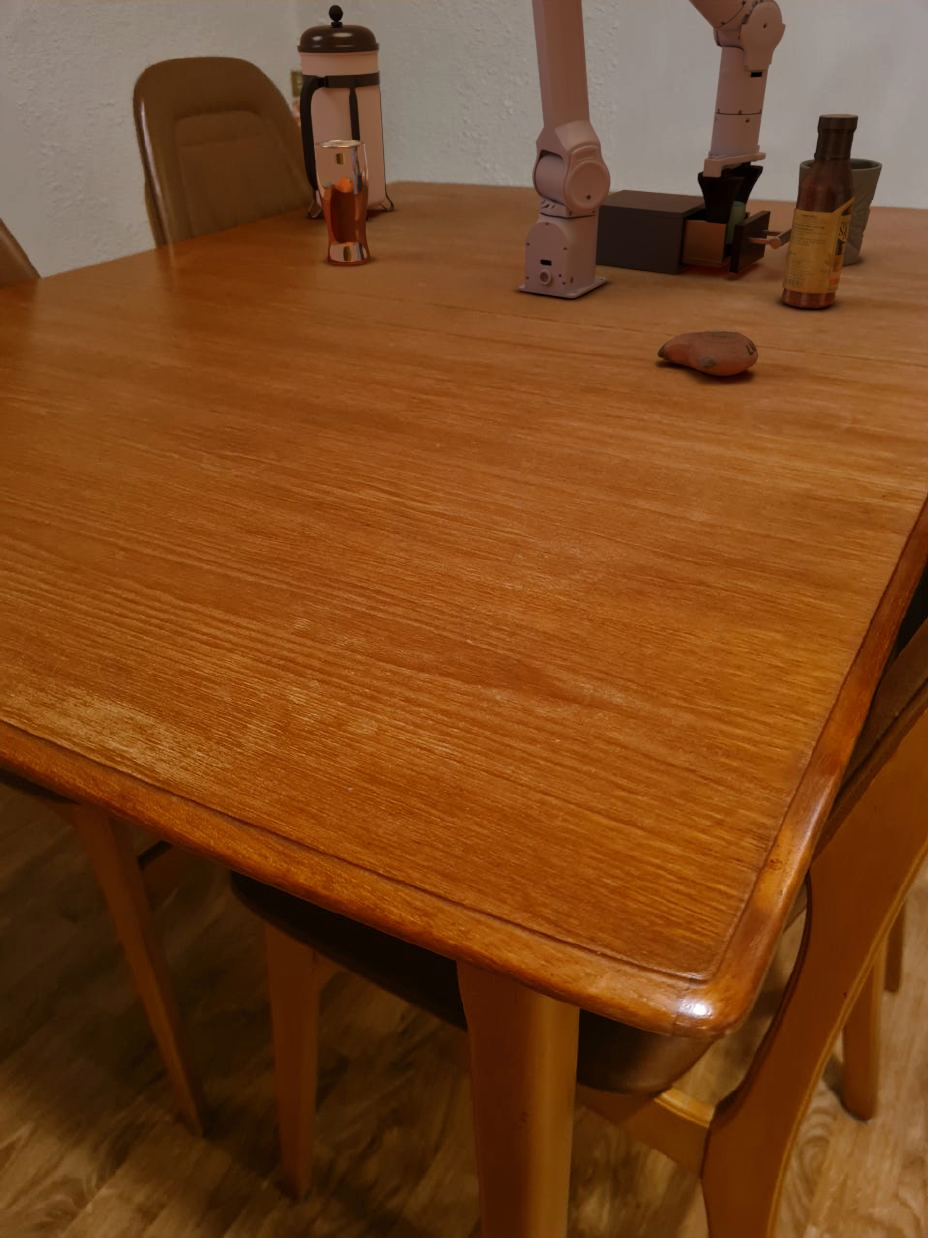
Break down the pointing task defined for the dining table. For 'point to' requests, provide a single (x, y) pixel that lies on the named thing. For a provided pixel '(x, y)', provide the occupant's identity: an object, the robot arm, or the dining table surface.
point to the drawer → (709, 241)
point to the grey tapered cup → (856, 201)
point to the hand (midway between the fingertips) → (723, 228)
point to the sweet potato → (711, 351)
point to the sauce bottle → (822, 217)
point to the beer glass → (344, 199)
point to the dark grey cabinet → (644, 230)
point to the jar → (735, 219)
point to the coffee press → (342, 98)
